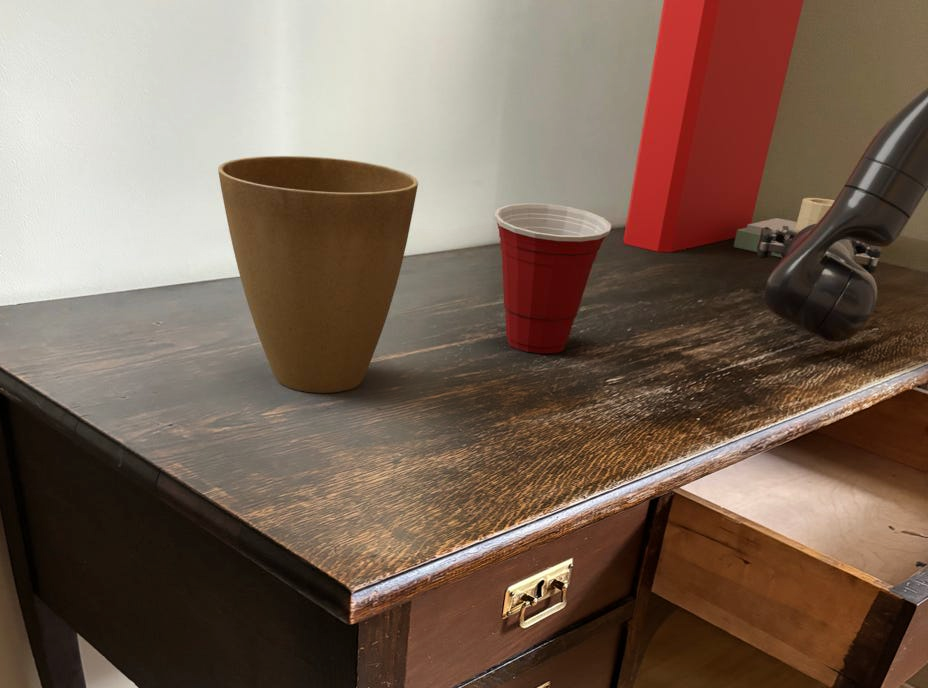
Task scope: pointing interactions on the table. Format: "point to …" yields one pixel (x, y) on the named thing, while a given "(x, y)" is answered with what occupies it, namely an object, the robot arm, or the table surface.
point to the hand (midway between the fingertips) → (817, 239)
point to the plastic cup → (545, 270)
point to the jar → (812, 211)
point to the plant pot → (317, 260)
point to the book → (708, 119)
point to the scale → (759, 233)
